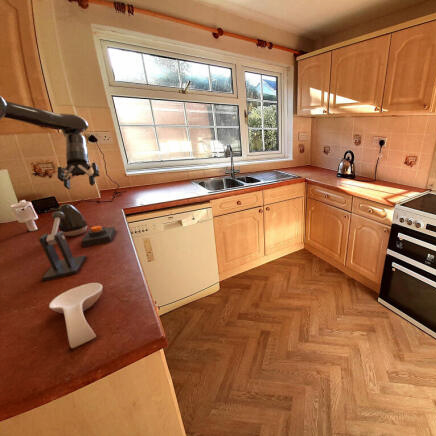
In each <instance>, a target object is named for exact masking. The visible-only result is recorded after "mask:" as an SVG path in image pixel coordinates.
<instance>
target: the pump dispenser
mask: <svg viewBox="0 0 436 436" xmlns="http://www.w3.org/2000/svg"><path fill="white" fill-rule="evenodd" d="M49 211H50V212H56V211H60V212H63V213H64V218H63V219H62V220H60V222H59V226H58V230H59V231H62V232H63V234H64V236H66V237H77V236H80V235H82V234H84V233H85V232H87V229H88V222H87V220H86V218H85V217H84V215H83V214H82V213H81V211H79V209H78V208H77V207H75V206H74V205H72V204H69V203H64V204H61V205H60V206H59V207H58V208H52V207H51V208H50V210H49Z"/></svg>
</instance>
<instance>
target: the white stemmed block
mask: <svg viewBox="0 0 436 436" xmlns="http://www.w3.org/2000/svg"><path fill="white" fill-rule="evenodd" d="M10 208H11V210H12V212H13V214H14V215H15V217H16V219H17V222H18V223H21V224H22V223H25V225H26V227H27V230H28V231H29V232H34V231H36V230H37V231H38V227H37V225H36V222H35V220H37V219H39V217H38V214H37V213H36V211H35V209H34V206H33V204H32V202H31V201H27V200H26V199H22V200H19V202H17V203H14V204H11V205H10ZM23 209H24V210H23Z"/></svg>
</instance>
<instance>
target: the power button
mask: <svg viewBox="0 0 436 436" xmlns="http://www.w3.org/2000/svg"><path fill="white" fill-rule="evenodd" d="M101 227H102V225H95V226H92V227H90V230H92V232H97V231H100V230H102V228H101Z"/></svg>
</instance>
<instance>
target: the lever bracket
mask: <svg viewBox="0 0 436 436" xmlns="http://www.w3.org/2000/svg"><path fill="white" fill-rule="evenodd" d="M47 235H49V233H43V234H42V235H40V237H39V238H38V242H39V243H40V245H41V248H42V250H43V251H44V253H45V255H46V258H47V260H48V262H49V264H50V265H51V266H49V267H50V268H48V270H47V271H46V272H45V273H44V275H43V276H42V281H43V282H46V281H51V280H55V279H59V278H63V277H68V276H71V275H76V274H78V272H79V270H80V268H82V265H83V264H84V261H86V258H87V257H86V255H85V254H83V255H78V256H74V255H73V253H72V250H71V248H70V246H69V243H68V241H67V239H66V237H65V235H64V234H63V232H62V231H60V230H59V231H57V234H56V235H55V236H54V237H55V240H56V242H57V244H56V245H57V246H58V249H59V251H60V254H61V256H62V257H63V259H60V257H59V255H58V253H57V251H56V249H55V247H54V244H53V245H49V244H48V242H47V241H46V239H47Z"/></svg>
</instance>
